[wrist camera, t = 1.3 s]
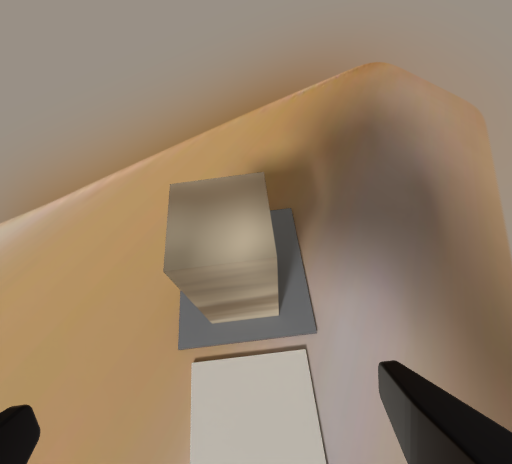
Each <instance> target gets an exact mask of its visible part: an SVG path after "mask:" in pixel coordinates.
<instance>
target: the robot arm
mask: <svg viewBox="0 0 512 464" xmlns="http://www.w3.org/2000/svg"><path fill="white" fill-rule="evenodd" d="M378 379H379V393H380V397H381V400H382V402H383V405H384V407H385V410H386V412H387V415H388V417H389V419H390V422H391V424H392V427H393V429H394V432H395V434H396V436H397V439H398V441H399V444H400V446H401V449H402V451H403V453H404V456H405V458H406V461H407V463H408V464H512V432H510V431H509V430H507V429H506V428H504V427H502V426H501V425H499V424H498V423H496V422H494V421H493V420H491V419H489V418H488V417H486V416H485V415H483V414H481V413H480V412H478V411H477V410H475V409H473V408H472V407H470V406H469V405H467V404H465V403H464V402H462V401H460V400H459V399H457V398H456V397H454V396H452V395H451V394H449V393H448V392H446V391H444V390H443V389H441V388H440V387H438V386H436V385H435V384H433V383H432V382H430V381H428V380H427V379H425V378H423V377H422V376H420V375H419V374H417V373H415V372H414V371H412V370H411V369H409V368H407V367H406V366H404V365H403V364H401V363H399V362H397V361H394V360H392V361H384V362H380V363H379V366H378ZM39 437H40V427H39V425H38V422H37V419H36V417H35V414H34V412H33V409H32V408H31V406H29V405H18V406H12V407H9V408H7V409H6V410H4V411H3V412H1V413H0V464H27V462H28V460H29V458H30V456H31V454H32V452H33V450H34V448H35V446H36V444H37V442H38V440H39Z"/></svg>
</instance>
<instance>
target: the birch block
mask: <svg viewBox="0 0 512 464" xmlns="http://www.w3.org/2000/svg"><path fill="white" fill-rule="evenodd" d="M163 272H164V273H165V274H166V275H167V276H168V277H169V278H170V279H171V280H172V281H173V282H174V283H175V285H176V286H177V287H178V288H179V289H180V290H181V291H182V292H183V293H184V294H185V295H186V296H187V297H188V298H189V300H190V301H191V302H192V303H193V304H194V305H195V306H196V307H197V308H198V309H199V310H200V311H201V312H202V313H203V314H204V316H205V317H206V318H207V319H208V320H209V321H210V322H211V323H212V324H214V323H222V322H230V321H239V320H247V319H255V318H263V317H271V316H279V303H278V270H277V253H276V247H275V241H274V234H273V228H272V221H271V215H270V209H269V202H268V196H267V189H266V183H265V177H264V172H260V173H252V174H244V175H237V176H229V177H221V178H214V179H206V180H199V181H191V182H183V183H176V184H170V191H169V204H168V217H167V231H166V244H165V257H164V270H163Z"/></svg>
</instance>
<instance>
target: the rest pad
mask: <svg viewBox="0 0 512 464" xmlns="http://www.w3.org/2000/svg"><path fill="white" fill-rule="evenodd" d="M190 464H326V460H325V454H324V449H323V443H322V437H321V432H320V426H319V421H318V415H317V410H316V404H315V399H314V393H313V388H312V382H311V377H310V371H309V366H308V360H307V355H306V349H302V350H294V351H286V352H278V353H269V354H261V355H253V356H245V357H237V358H228V359H220V360H212V361H204V362H195V363H192V378H191V440H190Z"/></svg>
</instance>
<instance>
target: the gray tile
mask: <svg viewBox="0 0 512 464" xmlns="http://www.w3.org/2000/svg"><path fill="white" fill-rule="evenodd" d="M270 215H271V221H272V228H273V234H274V241H275V247H276V253H277V270H278V303H279V316H271V317H263V318H255V319H247V320H239V321H230V322H222V323H214V324H212V323H211V322H210V321H209V320H208V319H207V318H206V317H205V316H204V314H203V313H202V312H201V311H200V310H199V309H198V308H197V307H196V306H195V305H194V304H193V303H192V302H191V301H190V300H189V298H188V297H187V296H186V295H185V294H184V293H183V292H182V291H181V292H180V317H179V342H178V350H184V349H192V348H200V347H208V346H216V345H225V344H233V343H241V342H249V341H257V340H265V339H274V338H282V337H290V336H298V335H306V334H314V333H317V331H316V326H315V322H314V317H313V312H312V307H311V302H310V297H309V293H308V288H307V283H306V278H305V273H304V268H303V263H302V259H301V254H300V249H299V244H298V239H297V234H296V230H295V225H294V220H293V215H292V210H291V208H288V209H280V210H272V211H270Z"/></svg>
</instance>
